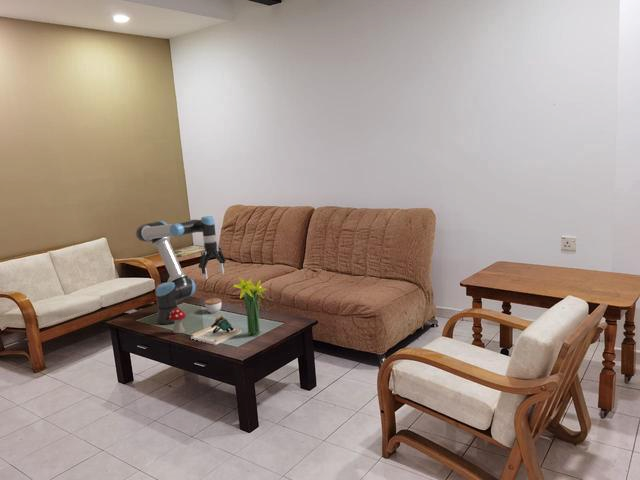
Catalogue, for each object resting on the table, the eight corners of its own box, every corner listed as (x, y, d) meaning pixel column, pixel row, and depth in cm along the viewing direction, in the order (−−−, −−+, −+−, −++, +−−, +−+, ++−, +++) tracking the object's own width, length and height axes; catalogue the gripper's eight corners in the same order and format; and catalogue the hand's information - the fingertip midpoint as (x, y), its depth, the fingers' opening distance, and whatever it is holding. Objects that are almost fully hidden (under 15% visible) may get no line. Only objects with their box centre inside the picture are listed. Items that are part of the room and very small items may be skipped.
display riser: (190, 339, 287) (190, 334, 286) (217, 328, 303) (216, 323, 302) (215, 344, 275) (215, 340, 275) (241, 332, 291) (240, 328, 291)
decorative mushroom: (190, 330, 302) (187, 306, 299) (183, 335, 294) (180, 310, 291) (174, 330, 304) (171, 306, 301) (167, 335, 295) (164, 311, 293)
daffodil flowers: (258, 327, 298) (252, 269, 293) (274, 332, 288) (269, 272, 282) (235, 336, 287) (228, 275, 281) (251, 341, 276) (245, 279, 271)
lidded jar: (210, 309, 342) (208, 296, 340) (225, 309, 339) (223, 295, 338) (203, 314, 331) (201, 300, 330) (218, 314, 329) (217, 300, 327)
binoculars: (219, 342, 284) (230, 330, 282) (206, 328, 286) (216, 316, 284) (226, 338, 293) (237, 326, 291) (214, 325, 295) (224, 313, 292)
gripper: (198, 246, 295) (202, 281, 299) (229, 238, 315) (232, 271, 319) (189, 245, 300) (194, 280, 303) (220, 238, 320) (224, 270, 323)
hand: (213, 276), depth 311 cm, fingers open, 13 cm apart
